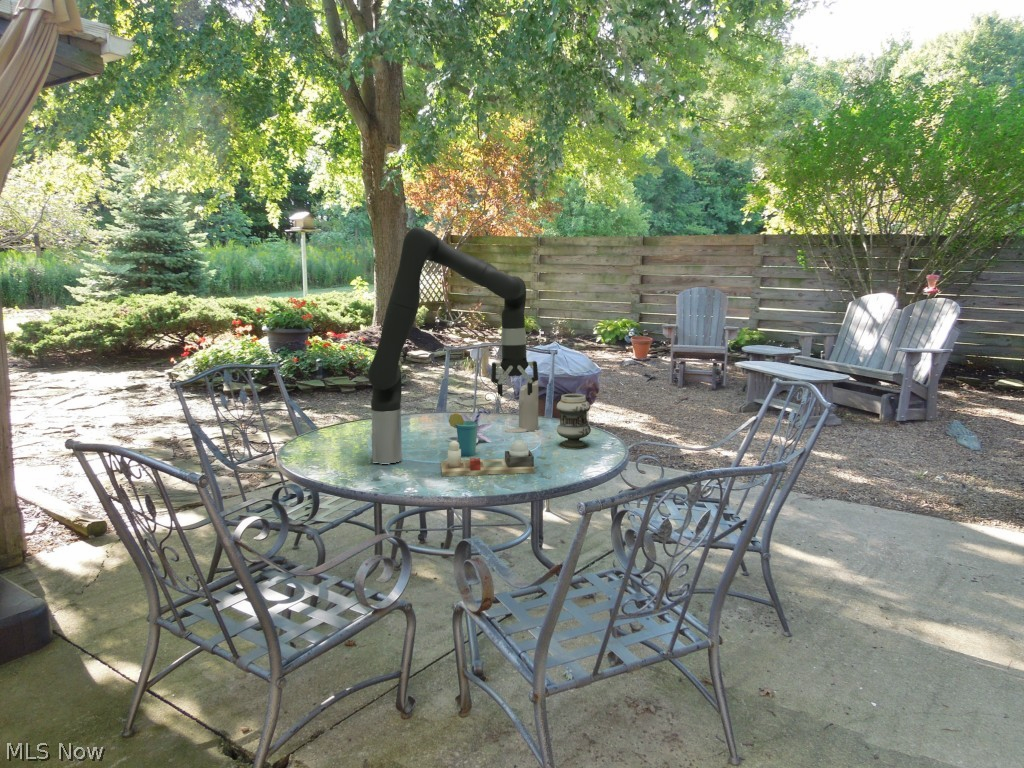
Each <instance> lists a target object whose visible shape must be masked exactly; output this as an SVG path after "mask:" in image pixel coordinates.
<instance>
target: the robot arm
mask: <svg viewBox="0 0 1024 768" xmlns="http://www.w3.org/2000/svg"><path fill="white" fill-rule="evenodd" d="M426 261H429V262H431V263H432V262H433V263H436V264H439V265H442V266H445V267H447V268H448V269H450V270H452V271H454V272H455V273H457V274H458V275H460V276H461V277H463V278H464V279H467V280H469V281H471V282H472V283H474V284H476V285H478V286H480V287H483V288H485V289H487V290H489V291H490V292H491V293H493V294H495V295H496V296H498V297H500V298H502V299H504V301H503V302H504V303H503V306H504V307H503V310H502V311H501V335H500V339H501V340H500V342H501V361H500V362H495V361H493V362H492V363H491V376H490V377H491V378H490V379H491V382H492V383H494V384H496V385H497V394H498V395H499V397H504V396H503V395H504V394H503V392H504V390H503V382H504V380H506V378H507V377H515V376H516V377H520V376H522V375H523V378H525V380H527V382H528V383H527V382H526V383H527V394H528V395H530V393H532V383H533V382H534V381H538V382H539V372H538V362H537V361H536V360H533V361H528V360H527V333H526V328H525V327H526V319H525V318H526V317H525V310H526V302H527V287H526V283H525V281H524V280H523V279H522V278H521V277H519V276H512V275H511V274H510V275H509V274H507V273H505V272H503V271H501V270H498V268H497V267H495V266H494V265H492V264H490V263H488V262H487V261H484V260H482V259H479V258H478V257H475V256H474V255H473V256H472V255H471V254H468V253H466V252H463V251H461V250H459V249H457V248H455V247H453V246H452V245H450V244H448V243H446V242H445V241H444V240H442V239H441V238H440V237H438V235H436V234H435V233H434V232H432V231H430V230H429V229H426V228H423V227H420V226H418V227H413V228H411V229H409V230H408V231H407V233H406V234H405V236H404V239H403V242H402V248H401V253H400V259H399V265H398V271H397V274H396V277H395V281H394V283H393V286H392V290H391V294H390V297H389V300H388V303H387V305H386V306H387V307H386V311H385V315H384V319H383V323H382V328H381V332H380V337H379V338H380V339H379V343H378V344H377V345H378V346H377V348H376V352H375V354H374V356H373V359H372V361H371V364H370V366H369V369H368V370H367V371H368V373H367V378H368V381H369V383H370V384H371V386H372V397H371V402H370V408H371V409H370V411H371V456H372V457H371V459H372V460H371V461H372V463H373V462H378V463H395V462H398V461H401V460H402V461H403V450H402V449H403V445H402V442H403V441H402V440H403V439H402V416H401V415H402V413H401V412H402V410H401V409H402V408H401V406H402V405H401V403H402V371H401V366H400V365H399V364H400V359H401V354H402V351H403V348H404V346H405V344H406V342H407V339H408V338H409V335H410V333H411V332H412V329H413V326H414V323H415V321H416V317H417V314H418V311H419V306H420V302H421V301H420V299H421V277H422V272H423V269H424V265H425V264H426ZM500 367H501V369H502V370H503V372H502V373H501V374H500V376H499V378H497V370H499V368H500ZM528 367H530V368H531V369H532V377H531V376H530V375H529V374H528V373H527V372H526V370H527V368H528ZM402 461H401V462H402Z"/></svg>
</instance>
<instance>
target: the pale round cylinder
mask: <svg viewBox="0 0 1024 768" xmlns="http://www.w3.org/2000/svg"><path fill="white" fill-rule="evenodd" d="M529 450H530V449H529V445H528V444H527V442H526V441H524V440H522V439H516V440H514V441H513V442H512V443H510V446H509V450H508V451H509V456H510V457H529Z"/></svg>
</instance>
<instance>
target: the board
mask: <svg viewBox="0 0 1024 768" xmlns="http://www.w3.org/2000/svg"><path fill="white" fill-rule="evenodd" d="M534 460H535V457H534V454H533V453H532V451H531V450H530V449H529V457H510V456H509V450H505V451H504V458H490V459H488V458H486V459H481V458H480V457H470V458H469V459H464V460H463V459H461V466H460V467H449V466H448V460H440V469H441V477H442V476H449V477H468V475H471V476H489V475H488V474H499V475H517V474H516V473H524V474H535V473H536V468H535V461H534ZM465 475H467V476H465Z"/></svg>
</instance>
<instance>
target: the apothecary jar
mask: <svg viewBox="0 0 1024 768" xmlns="http://www.w3.org/2000/svg"><path fill="white" fill-rule="evenodd" d="M560 397H561V398H560V401H558V402H557V404H556V410H557V411H559V424H558V425H557V426H556V432H557V433H556V434H558V436H560V437H562V438H564V439H565V440H563V441H561V442H560V443H559V447H561V446H562V447H561V448H563V447H565V448H564V449H568V448H574V449H573V450H578V449H577V448H580V449H585V448H586V446H587V447H588V443H587V442H585V441H583V440H580V439H583V438H586V437H588V436H589V435H590V434H591V431H592V428H591V426H590V425H589V424H588V412H589V411H591V403H590V402H589V401H587V397H586V394H581V393H566V394H561V396H560ZM584 447H585V448H584ZM575 448H576V449H575Z"/></svg>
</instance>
